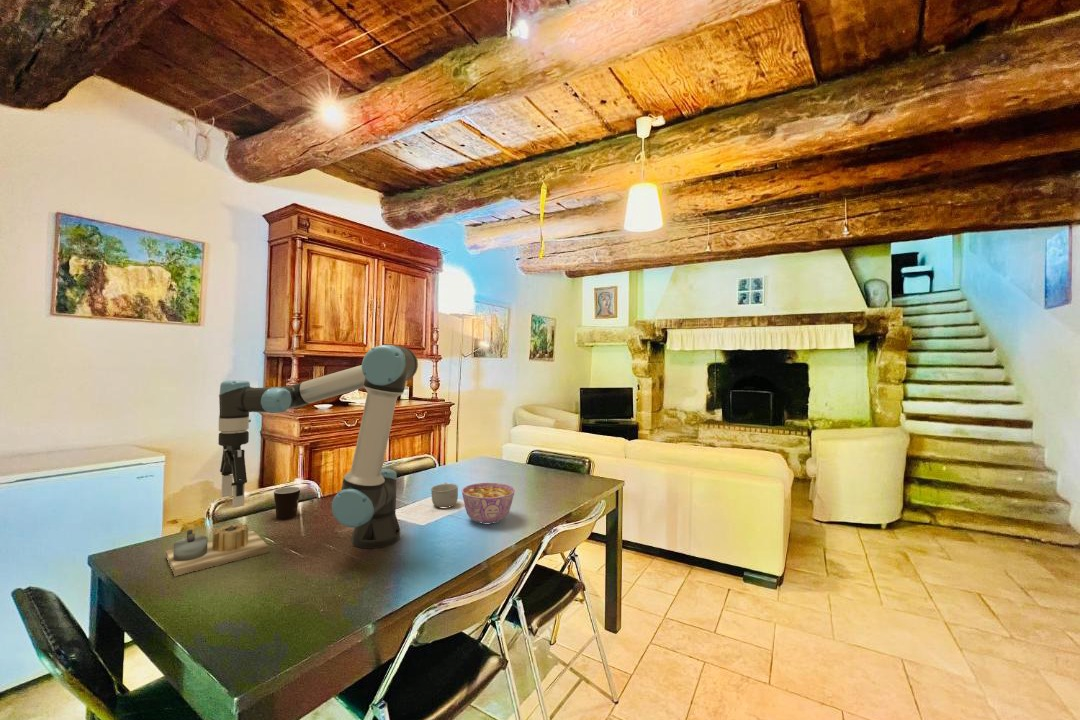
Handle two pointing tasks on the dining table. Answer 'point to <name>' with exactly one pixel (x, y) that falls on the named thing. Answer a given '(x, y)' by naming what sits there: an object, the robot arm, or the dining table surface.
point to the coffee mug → (286, 502)
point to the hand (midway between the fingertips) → (232, 501)
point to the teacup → (444, 495)
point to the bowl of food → (488, 501)
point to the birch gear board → (209, 553)
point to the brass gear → (230, 537)
